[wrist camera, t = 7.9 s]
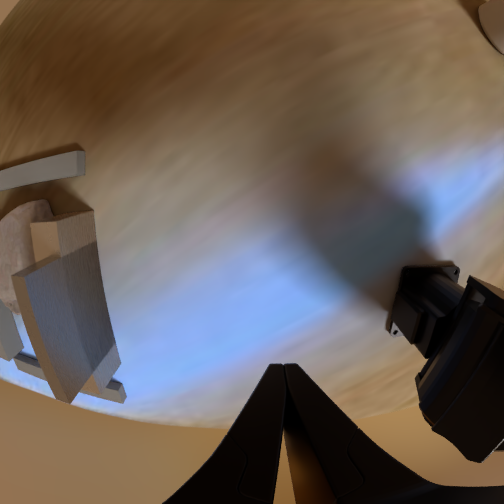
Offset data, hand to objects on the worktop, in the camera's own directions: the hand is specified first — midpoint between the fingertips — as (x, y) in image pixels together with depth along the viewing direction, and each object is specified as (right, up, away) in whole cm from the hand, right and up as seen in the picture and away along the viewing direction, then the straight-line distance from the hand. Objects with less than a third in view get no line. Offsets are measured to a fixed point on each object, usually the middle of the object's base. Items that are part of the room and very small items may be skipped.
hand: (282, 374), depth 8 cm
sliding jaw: (-15, 0, +14) cm, 21 cm away
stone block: (-23, +3, +14) cm, 27 cm away
